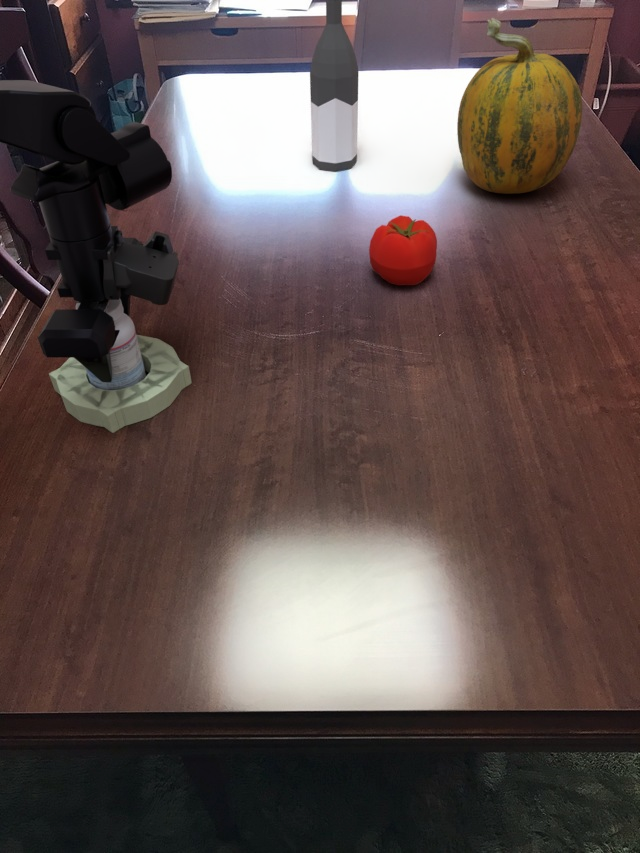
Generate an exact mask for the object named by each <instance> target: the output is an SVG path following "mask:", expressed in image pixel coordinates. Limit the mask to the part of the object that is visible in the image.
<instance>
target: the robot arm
mask: <svg viewBox="0 0 640 853" xmlns="http://www.w3.org/2000/svg"><path fill="white" fill-rule="evenodd" d="M91 104H92V102H91V100H90V99H89V98H88V97H86V95H85V94H81V93H79V92H77V91H74V90H70V89H66V88H61V87H58V86H54V85H51V84H50V85H49V84H45V83H42V82H38V81H33V80H27V79H1V80H0V143H1V144H4V145H7V146H10V147H13V148H15V149H19V150H22V151H26V152H28V153H32V154H34V155H38V156H41V157H44V158H47V159H50V160H54V162H52V163H50V164H47V165H45V166H43V167H40V168H38V167H35V166H32V165H29V164H26V163H24V164H22V165H21V170H20V172H19V174H18V176H17V177H15V178H14V180H13V182H12V184H11V186H10V188H9V191H10V193H11V194H13V195H15V196H18V197H21V198H24V199H26V200H29V201H32V202H34V203H38V204H39V207H40V211H41V214H42V218H43V220H44V224H45V227H46V230H47V233H48V237H49V240H50V242H49V243H48V245H47V246H46V248H45V249H44V252H45V255H46V259H47V260H48V261H56V262H57V266H58V269H59V272H60V276H61V281H60V282H59V285H58V286H57V288H56V290H57V294H58V296H59V298H73V300H74V301H75V303H76V304H77V303H80V305H79V307H78V309H76V308H75V309H71V308H69V309H68V308H67V309H61V308H60V309H54V310H53V312H52V313H51V314H50V316H48V318H47V320H46V322H45V324H44V326H43V327H42V329H41V331H40V333H39V334H38V336H37V340H38V343H39V346H40V349H41V352H42V354H43V355H44V356H45V357H46V358H70V357H74V358H75V359H76V360H77V361H79V362H80V363H81V364H82V365H83V366H84V367H85V368H87V369H88V370H89V371H90V372H91V373H92V374H93V375H94V376H96V377H97V378H98V379H99V380H100V381H101V382H111V381H112V365H111V356H110V349H111V348H112V347H113V346H114V344H115V341H116V339H117V337H118V334H119V332H120V330H115V324H114V320H113V317H111V316H110V315H109V314H107V313H106V310H107V308H108V306H109V304H110V302H111V300H119V299H121V302H122V306H123V308H124V311H123V313H125V314H126V315H128V316H129V317H130V316H131V314H130V313H131V298H132V297H135V298H139V299H142V300H145V301H149V302H150V303H151V304H154V305H156V306H165V305H167V304H168V303H169V302H170V297H171V294H172V291H173V289H174V285H175V281H176V278H177V277H176V276H177V273H178V269H179V263H180V259H179V258H178V252H176V251H174V247H173V245H172V244H173V243H172V241H171V238H170V235H169V234H167V233H163V232H160V231H154V232H153V233H152V234H151V235H150V236H149V237H148V239H147V240H146V241H145V242H144V244H143V241H140V240H138V239H137V238H136V237H124V233H123V230H121V229H119V226H118V225H111V222H110V217H109V213H108V209H107V205H108V206H109V207H111V208H112V209H115V210H116V211H124V210H127V209H128V208H131V207H132V206H134V205H137V204H138V203H141V202H142V201H145V200H146V199H148V198H150V197H152V196H154V195H156V194H158V193H161V192H162V191H164V190H167V188H168V187H170V184H171V183H172V178H173V171H172V163H171V162H170V160H168V157H167V155H166V153H165V151H164V149H163V148H162V147H161V145H160V144H159V143H158V142H157V141H156V139H154V138H153V137H152V135H151V134H152V133H151V130H150V129H151V128H150V126H149V125H148V124H144V123H141V122H137V121H132V122H130V123H127V124H125V125H124V126H122V127H121V128H120V129H118V130H116V131H113V132H111V131H109V130H108V129H107V128H106V127H105V126H104V125H103V124H102V123H101V122H100V121H99V120H98V119H97V115H96V112H95V110H94V108H93V106H92V105H91ZM131 296H132V297H131ZM130 318H131V317H130Z"/></svg>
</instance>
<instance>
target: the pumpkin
mask: <svg viewBox="0 0 640 853" xmlns="http://www.w3.org/2000/svg"><path fill="white" fill-rule="evenodd" d="M487 23H488V24H487V27H486V29H487V32H486V36H487V37H490V38H491V39H493V40H494V41H496V43H497V44H499V45H501V46H503V47H505V48H507V47H508V48H509V47H510V48H512V49H513V48H514V49H516V50H518V53H516V54H507V55H504V56H499V57H495V58H493V59H491V60H489V61H488V62H486V63H485V64H484V65H482V66H481V67H480V68H479V69H478V70H477V72H475V74H474V75H473V77H472V78H471V79H470V81H469V82H468V83H467V85H466V87H465V90H464V91H463V94H462V97H461V100H460V103H459V107H458V113H457V123H456V125H457V143H458V150H459V153H460V158H461V164H462V167H463V169H464V172H465V174H466V175H467V177H468V178H469V179H470V180H471V181H472V183H474V185H475V186H477V187H478V188H480V189H482V190H484V191H486V192H490V193H495V194H508V195H509V194H510V195H513V194H525V193H529V192H530V193H531V192H533V191H536V190H538V189H541V188H543V187H545V186H546V185H548V184H549V183H550V182H552V181H553V180H555V178H556V177H557V176H558V175H559V174H560V173H561V172H562V171H563V170H564V168H565V166H566V165H567V163H568V162H569V160H570V159H571V156H572V154H573V153H574V150H575V147H576V144H577V141H578V138H579V135H580V130H581V127H582V119H583V97H582V92H581V90H580V86H579V84H578V83H577V81H576V79H575V77H574V76H573V75H572V73H571V72H570V70H569V69H568V68H567V67H566V65H564V64H563V62H562V61H561V60H559V59H558V58H556V57H554V56H552V55H550V54H547V53H541V52H534V51H535V50H534V47H533V45H532V43H531V41H530V40H529V39H528V38H527V37H525V36H524V35H521V34H514V33H513V34H511V33H504V32H500V29H501V24H502V22H501V21H500V20H499V19H497V18H494V17H491V19H487Z"/></svg>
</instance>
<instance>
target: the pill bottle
mask: <svg viewBox="0 0 640 853" xmlns="http://www.w3.org/2000/svg"><path fill="white" fill-rule="evenodd" d="M79 305H80V303H76V304H75V309H78V307H79ZM123 311H124V308H123V306H122V302H121V299H119V300H111V302H110V304H109V306H108V308H107V310H106V313H107V314H109V315H110V316H111V317H113V320H114V324H115V330H120V332H119V334H118V337H117V339H116V341H115V344H114V346H113V347H112V348H111V349H110V356H111V365H112V381H111V382H101V381H100V380H99V379H98V378H97V377H96V376H94V375H93V374H92V373H91V372H90V371H89V370H88V369H87V368H86V371H87V374H88V377H89V380H90V384H91V385H93V386H94V387H96V388H99V389H103V390H121V389H125V388H128V387H131V386H134V385H136V384H137V383H139V382H141V381H142V380H144V379H145V377H146V376H147V374H146V371H145V369H144V365H143V361H142V356H141V352H140V348H139V344H138V339H137V335H138V334H137V332H136V327H135V324H134V321H133V319H132V318H131V317H129V316H128V315H126V314H125V313H123Z"/></svg>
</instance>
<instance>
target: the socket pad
mask: <svg viewBox="0 0 640 853" xmlns="http://www.w3.org/2000/svg"><path fill="white" fill-rule="evenodd" d="M136 335H137V339H138V344H139V348H140V352H141V356H142V361H143V365H144V369H145V372H147V373H148V374H146V377H145V379H144V380H142V381H141V382H139V383H137V384H136V385H134V386H131V387H128V388H125V389H121V390H103V389H99V388H96V387H94V386H93V385H91V384H90V380H89V377H88V374H87V371H86V368H85V367H84V366H83V365H82V364H81V363H80V362H79V361H77V360H76V359H75V358H74V357H68V359H67V360H65V362H64V363H63V364H62V365H61V366H60V367H59V368H57V369H55V370H53V371H51V372H49V373H48V375H49V376H48V377H49V378H50V382H51V383H52V387H53V389H54V392H56V393H57V394H59V395H60V397H61V400H62V403H63V405H64V408H65V410H66V412H67V413H68V414H70V415H71V416H72V417H73V418H75V419H76V420H78V421H79V422H80V423H84V424H87V425H92V426H97V427H100V428H101V427H102V428H105V429H106V430H107V431H109V432H110V433H111V434H114V433H116V432H117V431H119V430H121V429H122V428H124V427H125V426H130V425H134V424H136V423H139V422H143V421H147V420H149V419H152V418H153V417H155V416H156V415H158V414H160V413H161V412H162V411H164V410H166V409H167V408H169V407H170V406H172V404H173V403H174V402H175V400H176V399H177V397H178V396H179V395H180V393H181V392H182V390H184V389H186V388H187V387H188V386H190V385H191V384H192V383H193V382H192V377H191V371H190V366H189V365H187V364H185V363H184V362H183V361H181V359H180V358H179V356H178V354H177V352H176V350H175V349H174V347H173V346H171V345H169V344H168V343H166V342H164V341H163V340H161V339H159V338H155V337H151V336H146V335H141V334H136Z"/></svg>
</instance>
